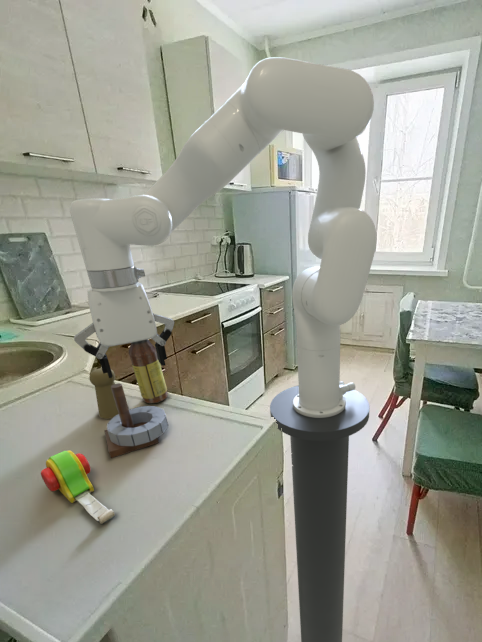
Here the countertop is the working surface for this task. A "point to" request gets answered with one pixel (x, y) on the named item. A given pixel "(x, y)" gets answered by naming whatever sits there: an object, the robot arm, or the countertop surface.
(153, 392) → the sauce bottle
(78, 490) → the toy measuring tape
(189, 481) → the countertop surface
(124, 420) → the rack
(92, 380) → the cork
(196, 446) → the countertop surface
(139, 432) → the segmented block ring
